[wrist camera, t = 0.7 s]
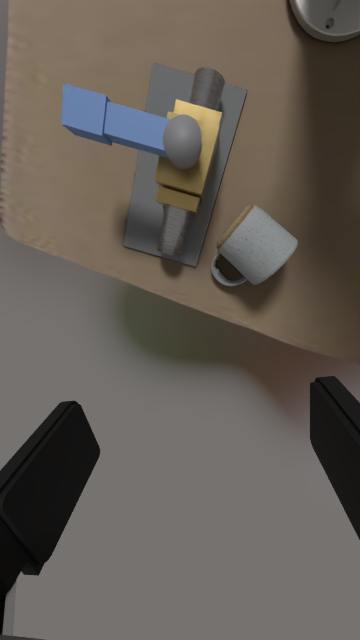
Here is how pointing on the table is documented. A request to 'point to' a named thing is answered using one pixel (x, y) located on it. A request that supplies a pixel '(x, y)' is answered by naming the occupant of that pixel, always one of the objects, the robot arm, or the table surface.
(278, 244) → the ceramic mug
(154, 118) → the lever
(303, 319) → the table surface
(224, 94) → the mat
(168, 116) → the valve
